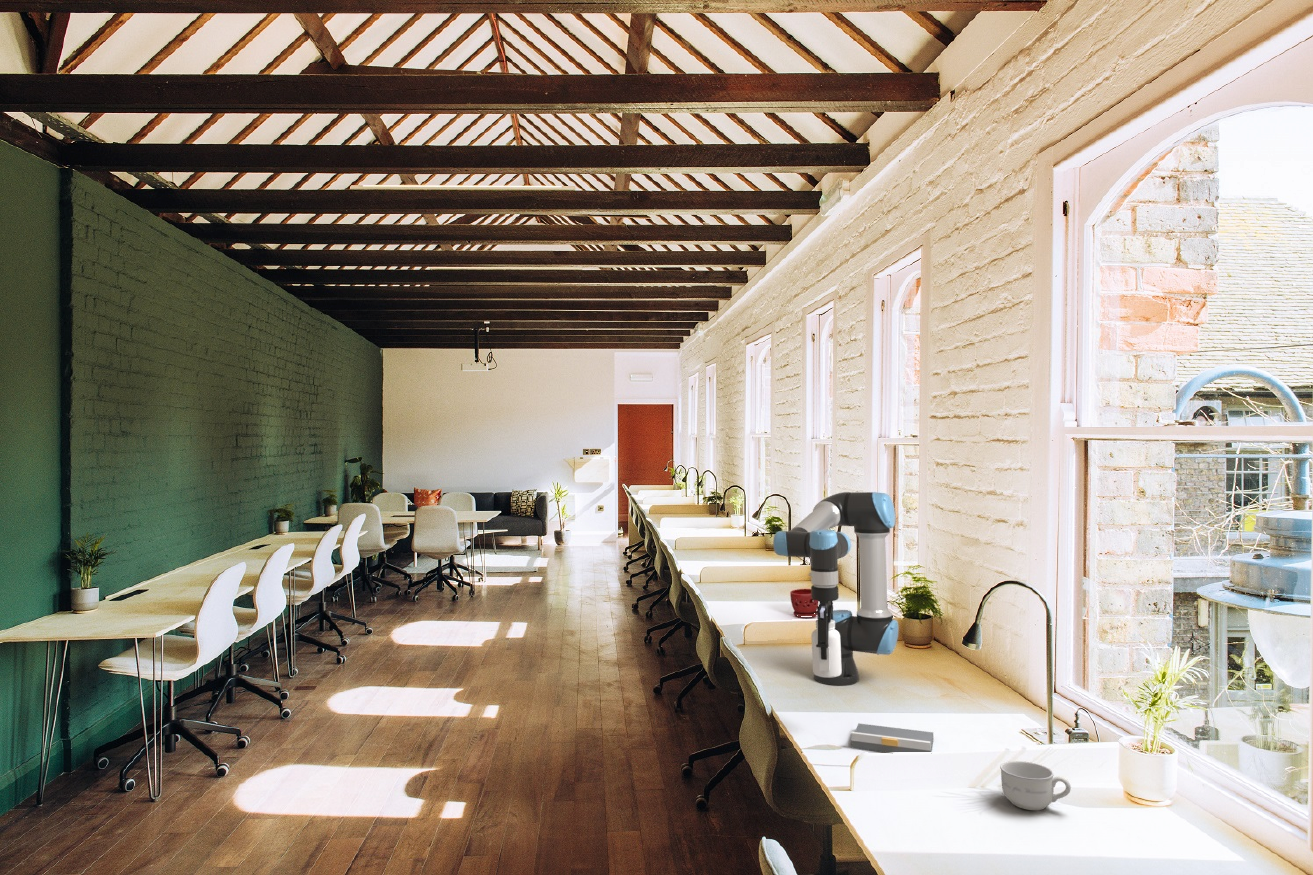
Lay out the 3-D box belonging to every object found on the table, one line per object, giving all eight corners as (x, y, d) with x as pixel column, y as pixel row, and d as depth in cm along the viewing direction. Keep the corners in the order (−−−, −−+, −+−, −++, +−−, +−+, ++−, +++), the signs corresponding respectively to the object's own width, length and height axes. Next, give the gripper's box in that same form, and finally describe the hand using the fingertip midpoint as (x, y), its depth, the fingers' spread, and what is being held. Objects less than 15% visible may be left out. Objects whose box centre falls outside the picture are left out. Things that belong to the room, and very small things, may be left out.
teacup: (993, 804, 168) (992, 768, 168) (1012, 788, 176) (1010, 754, 176) (1061, 826, 158) (1059, 788, 158) (1077, 807, 166) (1076, 771, 166)
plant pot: (803, 611, 362) (802, 587, 362) (825, 616, 352) (824, 590, 352) (785, 616, 354) (784, 590, 354) (807, 620, 344) (806, 594, 344)
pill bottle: (819, 667, 216) (818, 616, 217) (846, 672, 212) (844, 619, 212) (807, 675, 210) (806, 621, 210) (834, 680, 205) (833, 625, 205)
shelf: (858, 730, 213) (858, 716, 213) (933, 739, 205) (933, 724, 205) (851, 748, 200) (850, 733, 200) (930, 759, 192) (930, 743, 192)
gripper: (816, 578, 222) (818, 654, 222) (805, 591, 203) (807, 675, 203) (842, 579, 219) (844, 656, 219) (833, 592, 200) (835, 678, 200)
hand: (826, 665), depth 211 cm, fingers closed on pill bottle, 8 cm apart
